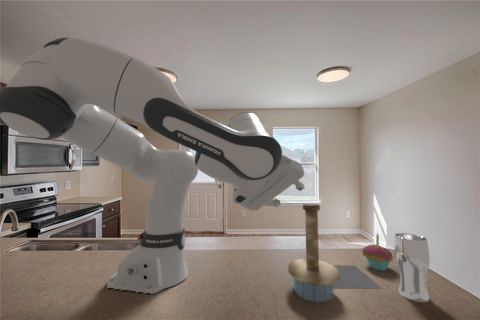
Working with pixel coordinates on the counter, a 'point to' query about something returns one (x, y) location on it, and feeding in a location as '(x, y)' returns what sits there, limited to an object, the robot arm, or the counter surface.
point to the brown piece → (313, 255)
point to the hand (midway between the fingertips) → (289, 196)
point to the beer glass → (412, 265)
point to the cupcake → (377, 255)
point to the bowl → (313, 291)
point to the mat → (353, 278)
